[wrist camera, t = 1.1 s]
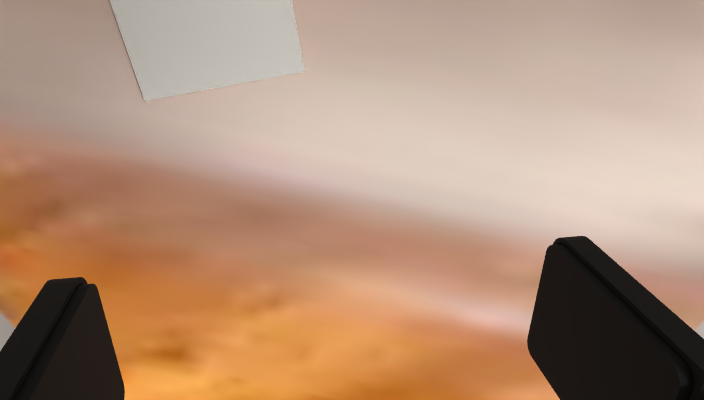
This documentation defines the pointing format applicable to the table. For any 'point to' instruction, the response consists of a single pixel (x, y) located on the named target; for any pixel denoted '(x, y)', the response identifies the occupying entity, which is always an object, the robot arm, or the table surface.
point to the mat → (207, 43)
